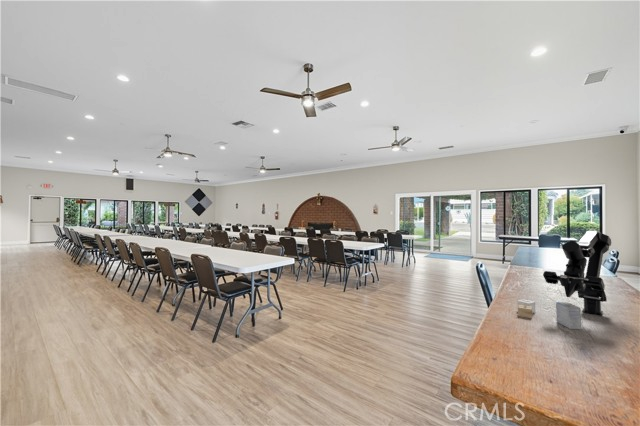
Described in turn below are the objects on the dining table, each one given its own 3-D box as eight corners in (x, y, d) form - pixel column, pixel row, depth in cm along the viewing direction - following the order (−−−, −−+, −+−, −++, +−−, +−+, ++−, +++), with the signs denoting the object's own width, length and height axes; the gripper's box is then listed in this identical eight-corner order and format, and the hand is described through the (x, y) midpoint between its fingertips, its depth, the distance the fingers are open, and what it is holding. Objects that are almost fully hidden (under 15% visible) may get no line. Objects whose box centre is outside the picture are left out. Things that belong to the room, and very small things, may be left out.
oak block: (519, 313, 129) (518, 304, 130) (532, 315, 126) (532, 306, 126) (518, 316, 126) (517, 307, 126) (532, 318, 122) (531, 309, 123)
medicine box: (582, 330, 109) (581, 307, 109) (568, 329, 110) (568, 307, 110) (568, 322, 117) (567, 302, 117) (556, 322, 118) (555, 301, 118)
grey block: (523, 309, 135) (523, 299, 135) (535, 312, 130) (535, 301, 130) (517, 311, 132) (517, 300, 133) (529, 314, 128) (529, 303, 128)
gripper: (610, 282, 115) (603, 314, 109) (554, 275, 131) (545, 302, 125) (604, 265, 111) (597, 297, 105) (547, 260, 127) (538, 287, 121)
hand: (567, 296), depth 114 cm, fingers closed
